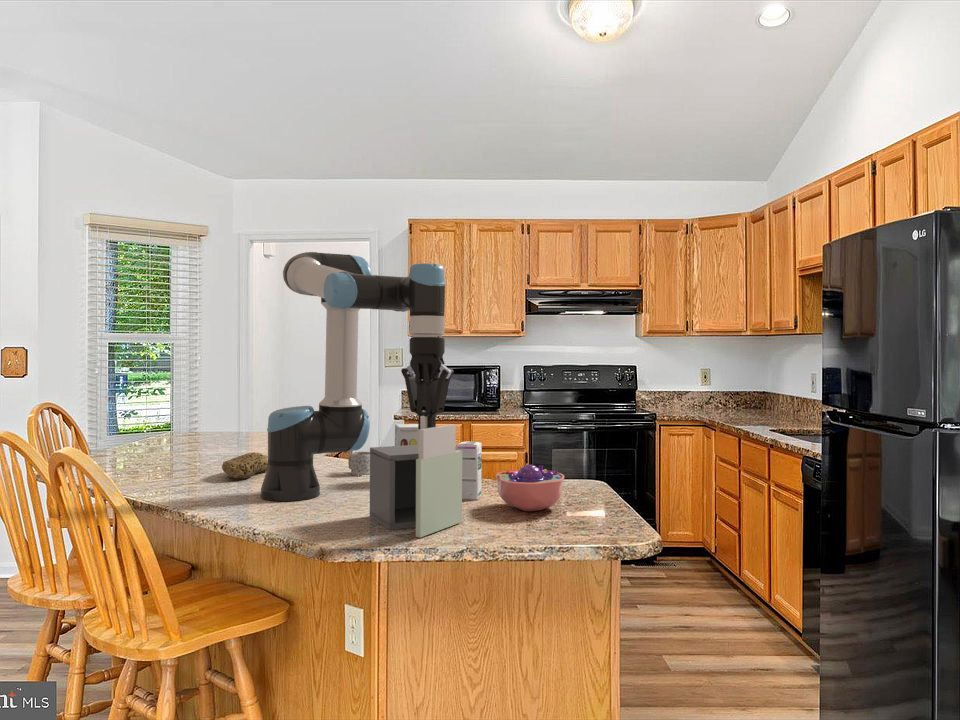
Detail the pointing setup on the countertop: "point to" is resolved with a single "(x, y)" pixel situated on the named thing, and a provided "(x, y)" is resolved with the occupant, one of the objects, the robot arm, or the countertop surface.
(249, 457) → the sponge
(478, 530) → the countertop surface
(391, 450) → the box
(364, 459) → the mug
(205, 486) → the countertop surface
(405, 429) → the supplement box
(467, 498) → the syrup box
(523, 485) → the cell model
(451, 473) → the side door
